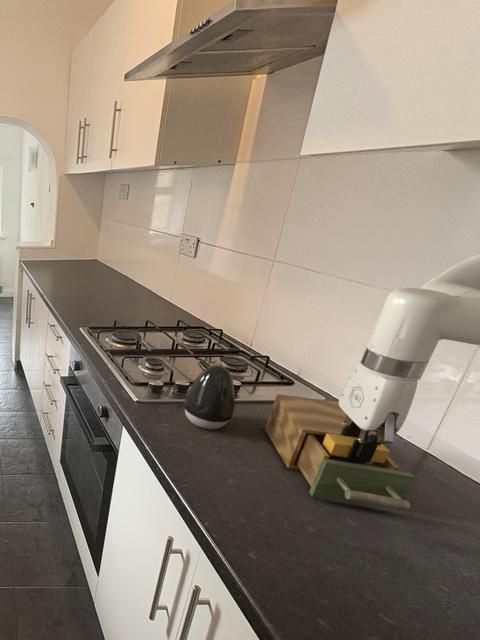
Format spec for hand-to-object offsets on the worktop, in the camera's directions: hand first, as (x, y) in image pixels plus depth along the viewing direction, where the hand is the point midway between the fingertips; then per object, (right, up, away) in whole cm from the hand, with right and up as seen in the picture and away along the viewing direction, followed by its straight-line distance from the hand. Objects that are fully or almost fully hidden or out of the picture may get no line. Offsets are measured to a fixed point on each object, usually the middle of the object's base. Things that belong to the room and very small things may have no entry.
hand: (352, 452), depth 76 cm
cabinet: (+3, -3, +13) cm, 14 cm away
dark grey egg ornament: (-14, +1, +24) cm, 28 cm away
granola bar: (0, 0, 0) cm, 0 cm away
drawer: (-1, -7, +2) cm, 7 cm away
